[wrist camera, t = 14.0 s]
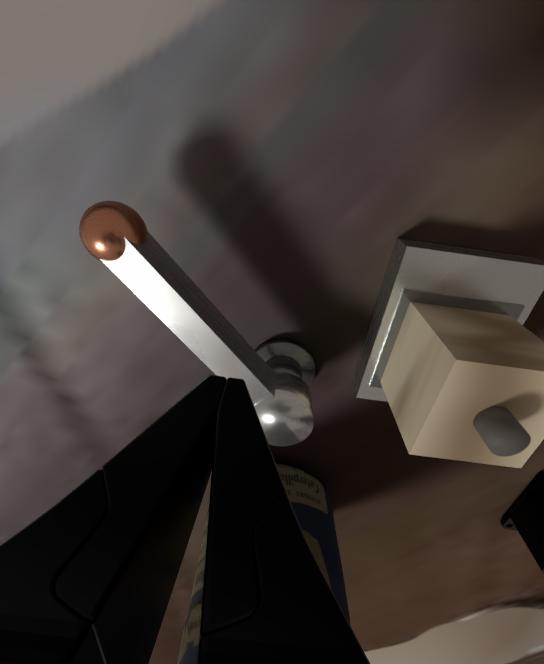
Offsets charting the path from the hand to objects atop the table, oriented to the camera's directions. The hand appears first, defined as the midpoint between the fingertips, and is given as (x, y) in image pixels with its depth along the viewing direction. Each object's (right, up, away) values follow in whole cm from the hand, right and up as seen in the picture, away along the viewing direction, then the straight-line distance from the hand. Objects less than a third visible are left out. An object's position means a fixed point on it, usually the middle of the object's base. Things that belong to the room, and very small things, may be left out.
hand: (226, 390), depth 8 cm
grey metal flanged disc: (+2, -1, +12) cm, 12 cm away
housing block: (+10, 0, +9) cm, 14 cm away
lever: (-2, +2, +8) cm, 8 cm away
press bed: (+10, +2, +10) cm, 15 cm away
